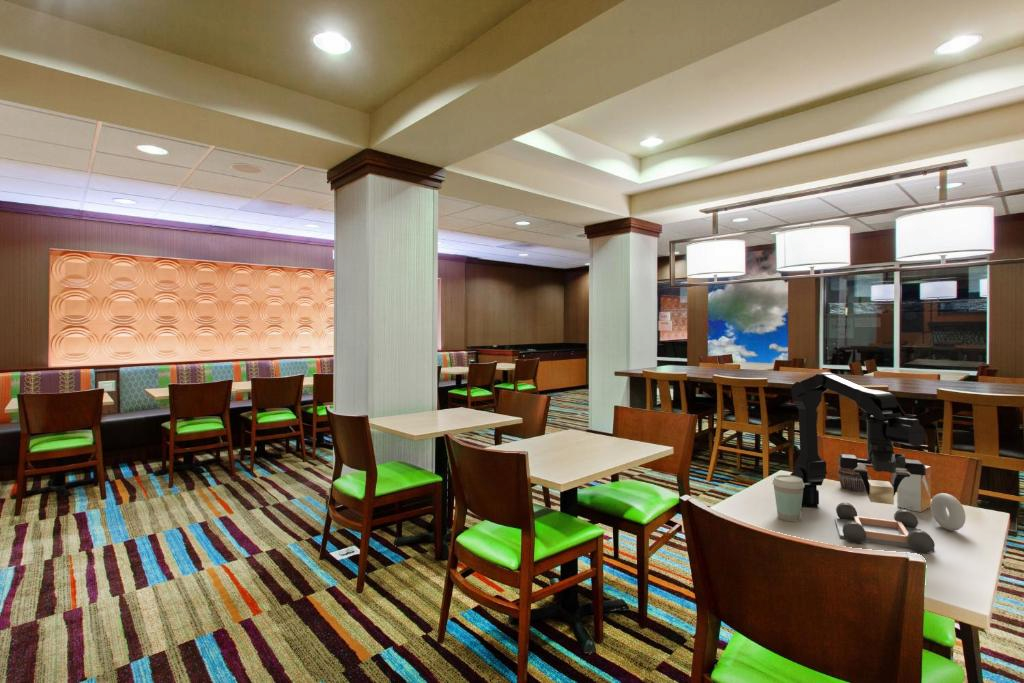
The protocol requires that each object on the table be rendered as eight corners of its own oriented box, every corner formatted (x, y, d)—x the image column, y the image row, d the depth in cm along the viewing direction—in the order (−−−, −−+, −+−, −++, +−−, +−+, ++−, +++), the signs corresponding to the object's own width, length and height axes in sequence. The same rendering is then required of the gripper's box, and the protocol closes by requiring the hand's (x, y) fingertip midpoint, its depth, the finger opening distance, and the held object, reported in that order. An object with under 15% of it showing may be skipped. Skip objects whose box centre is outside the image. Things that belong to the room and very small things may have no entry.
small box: (921, 512, 154) (921, 470, 154) (896, 507, 159) (896, 465, 159) (931, 507, 158) (931, 465, 158) (907, 502, 164) (906, 461, 164)
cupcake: (861, 494, 172) (861, 465, 172) (832, 487, 180) (831, 459, 180) (876, 489, 177) (876, 461, 176) (847, 482, 185) (846, 455, 185)
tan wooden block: (870, 502, 137) (870, 485, 137) (867, 495, 142) (867, 479, 142) (893, 504, 134) (893, 487, 134) (889, 497, 140) (889, 481, 140)
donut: (927, 522, 146) (927, 488, 146) (940, 522, 146) (939, 488, 146) (955, 536, 136) (955, 499, 136) (969, 536, 136) (969, 499, 136)
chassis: (841, 541, 134) (841, 522, 134) (834, 517, 151) (833, 501, 151) (937, 555, 125) (937, 535, 125) (918, 528, 142) (918, 510, 142)
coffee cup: (801, 514, 155) (801, 475, 154) (808, 524, 147) (807, 483, 146) (770, 511, 157) (770, 473, 157) (775, 521, 149) (774, 481, 149)
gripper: (842, 441, 135) (842, 499, 135) (931, 447, 126) (931, 510, 127) (838, 433, 145) (838, 488, 145) (920, 439, 136) (920, 496, 137)
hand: (880, 495), depth 138 cm, fingers closed on tan wooden block, 5 cm apart
